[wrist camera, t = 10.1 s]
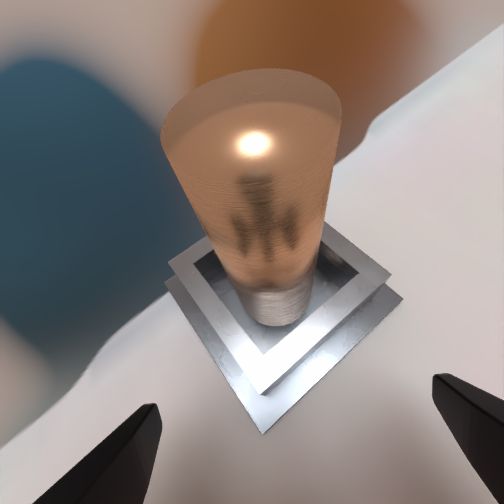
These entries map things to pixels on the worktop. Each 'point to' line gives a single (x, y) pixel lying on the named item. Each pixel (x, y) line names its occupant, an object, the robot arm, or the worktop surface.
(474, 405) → the robot arm
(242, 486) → the worktop surface
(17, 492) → the worktop surface
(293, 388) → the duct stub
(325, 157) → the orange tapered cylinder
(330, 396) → the worktop surface
